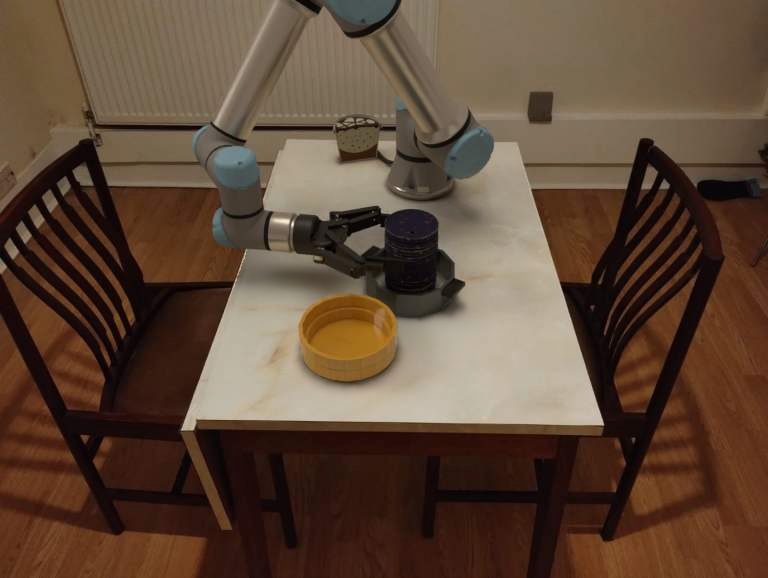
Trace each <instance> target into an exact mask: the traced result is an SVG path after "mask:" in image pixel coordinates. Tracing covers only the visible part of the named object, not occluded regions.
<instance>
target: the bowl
mask: <svg viewBox="0 0 768 578" xmlns="http://www.w3.org/2000/svg"><path fill="white" fill-rule="evenodd" d="M396 318H397V317H396V316H395V315H394V314H393V312H392V311H391V310H390V308H389V307H388V306H387V305H385V304H384V303H382V302H381V301H379V300H378V299H375V298H372V297H369V296H368V295H367V294H359V293H341V294H334V295H331V296H328V297H326V298H322V299H321V300H318V301H317V302H315V303H314V304H313V303H312V304H311V306H309V307H308V308H307V310H306V311H305V312H304V313H303V314H302V315H301V318H300V320H299V323H298V338H299V345H300V354H301V355H300V356H301V357H302V359H303V361H304V363H305V364H306V366H307V367H308V368H309V369H310V370H312V371H313V372H314V373H315V374H316V375H319V376H320V377H324V378H326V379H328V380H332V381H340V382H352V381H361V380H365V379H367V378H370V377H374V376H376V375H378V374H379V373H380V372H382V371H384V370H385V369H386V368H387V367H388V366H389V365H390V364H391V362H392V361H393V360H394V358H395V357H396V353H397V349H398V323H397V320H396Z"/></svg>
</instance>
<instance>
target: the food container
mask: <svg viewBox="0 0 768 578" xmlns="http://www.w3.org/2000/svg"><path fill="white" fill-rule="evenodd" d="M381 129H383V126H382V122H381V120H380V119H379V118H378V117H376V116H374V115H371V114H367V113H350V114H345V115H343V116H341V117H339V118H337V119H336V120H335V122H334V124H333V127H332V131H333V132H332V135H334V134H335V139H336V144H337V150H338V155H339V162H340V164H345V163H346V164H347V163H352V162H359V161H360V162H361V161H368V160H374V159H378V156H377V153H378V151H379V142H380V141H379V140H380V130H381ZM334 130H335V133H334Z"/></svg>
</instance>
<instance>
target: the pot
mask: <svg viewBox="0 0 768 578" xmlns="http://www.w3.org/2000/svg"><path fill="white" fill-rule="evenodd" d="M367 255H368V256H379V257H386V251H385V246H383V247H379V246H376V245H372V246H370V247H369V248H368V249H367V250H365V251H364V252H363V253H362V254H360V256H361V257H363V258H364V259H365V261H366V257H367ZM436 266H437V270H436V272H437V273H440V274H441V275H442V277H444V279H445V280H446V281H445V282H444V283H443V284H442V285H441V286H439V287H438V288H437V287H436V289H434V290H431V291H428V292H425V293H421V294H412V293H396V292H394V291H392V290H389V289H387V288H385V286H383V285H380V283H378V282H377V281H376V278H377V277H378V276H379V275H380V274H381V273H379V272H369V271H366V275H365V278H366V279H365V281H366V296H369V297H372V298H375V299H378V300H379V301H381V302H382V303H384V304H385V305H387V306H388V307H389V308H390V310H391V311H392V312H393V314H394V315H395V317H405V318H422V317H425V316H428V315H432V314H434V313H437V312H440V311H442V310H443V309H444V308H445V307H446V306H447V305H448V304H449V303H450V302H451V300H453V299H454V298H455V297H456V296H457V295H458V294H459V293H460V292H461V291H462V290H463V289H464V288H465V287H466V281H464V280H461V279H459V278H456V275H455V274H456V263H455V261H454V260H453V259H452V258H451V257H450V255H448V254H447V253H446V251H444V250H443V249H440V248H438V250H437V253H436Z"/></svg>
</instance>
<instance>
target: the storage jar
mask: <svg viewBox="0 0 768 578" xmlns="http://www.w3.org/2000/svg"><path fill="white" fill-rule="evenodd" d="M389 214H390V215H389V216H388V217H387V218H386V220H385V228H384V234H383V237H384V238H383V239H384V240H383V241H384V243H383V244H384V246H383V247H385V251H386V257H389V258H400V259H404V272H403V274H400V273H390V272H384V281H385V286H384V287H385V288H387V289H389V290H392V291H394V292H396V293H412V294H421V293H425V292H428V291H431V290H434V289H437V287H436V285H437V279H438V271H436V270H437V266H436V253H437V250H438V249H439V239H440V238H439V237H440V235H439V230H440V229H439V228H440V227H439V226H440V223H439V219H438V218H437V217H436V216H435V215H434V214H433V213H431V212H429V211H427V210H424V209H419V208H405V209H400V210H396V211H394V212H392V213H389Z"/></svg>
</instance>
